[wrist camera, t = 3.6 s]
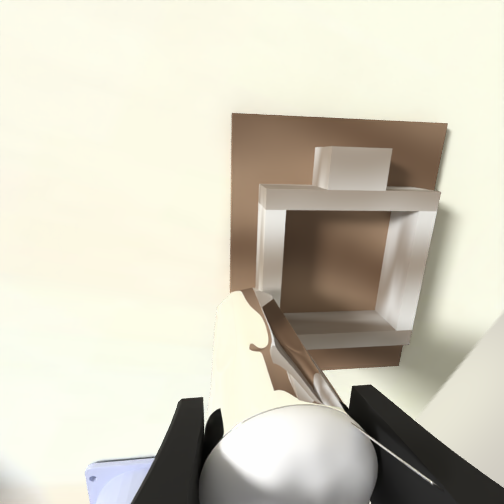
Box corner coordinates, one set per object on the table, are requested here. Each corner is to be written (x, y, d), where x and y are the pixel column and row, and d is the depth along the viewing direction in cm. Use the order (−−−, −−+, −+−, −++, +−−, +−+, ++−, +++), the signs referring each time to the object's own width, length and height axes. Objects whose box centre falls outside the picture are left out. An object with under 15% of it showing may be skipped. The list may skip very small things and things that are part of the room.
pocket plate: (394, 360, 23) (421, 391, 20) (229, 369, 21) (232, 404, 18) (440, 124, 18) (485, 118, 15) (231, 114, 16) (236, 106, 13)
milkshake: (321, 300, 16) (497, 530, 6) (248, 370, 16) (308, 668, 7) (258, 243, 14) (367, 433, 5) (180, 322, 15) (145, 621, 6)
